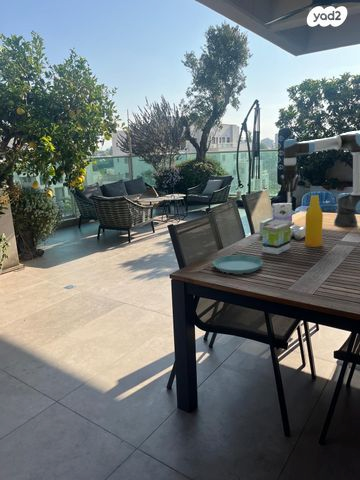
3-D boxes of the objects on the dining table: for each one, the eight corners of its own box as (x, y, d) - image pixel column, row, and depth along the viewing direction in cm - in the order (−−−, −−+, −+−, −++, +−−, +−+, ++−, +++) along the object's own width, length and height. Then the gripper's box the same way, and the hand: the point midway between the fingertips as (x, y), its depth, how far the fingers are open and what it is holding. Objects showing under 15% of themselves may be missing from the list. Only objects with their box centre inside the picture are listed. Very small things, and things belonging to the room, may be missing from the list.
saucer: (211, 262, 184) (211, 256, 183) (257, 259, 183) (257, 253, 182) (215, 277, 160) (215, 270, 160) (267, 274, 160) (267, 268, 159)
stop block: (272, 231, 244) (273, 218, 241) (264, 236, 231) (264, 222, 229) (268, 231, 245) (268, 218, 243) (259, 236, 233) (259, 222, 231)
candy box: (290, 223, 267) (290, 202, 263) (292, 225, 261) (292, 203, 257) (272, 224, 268) (272, 203, 264) (273, 225, 263) (273, 204, 259)
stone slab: (291, 224, 234) (291, 220, 233) (284, 228, 223) (284, 224, 222) (274, 223, 241) (274, 219, 240) (266, 227, 230) (266, 223, 229)
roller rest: (294, 229, 247) (294, 222, 246) (291, 231, 242) (291, 224, 241) (287, 228, 250) (287, 222, 249) (284, 230, 245) (284, 223, 244)
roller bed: (310, 234, 229) (310, 225, 228) (302, 240, 216) (303, 230, 215) (290, 233, 236) (290, 224, 235) (282, 238, 224) (282, 229, 223)
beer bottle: (324, 244, 204) (326, 195, 197) (317, 247, 197) (319, 197, 190) (308, 242, 210) (310, 194, 203) (302, 245, 203) (303, 196, 197)
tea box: (278, 254, 189) (278, 228, 185) (262, 252, 195) (262, 226, 192) (290, 248, 199) (291, 223, 196) (274, 246, 206) (275, 221, 202)
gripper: (302, 164, 218) (301, 201, 223) (281, 164, 225) (281, 201, 231) (298, 164, 212) (297, 203, 217) (277, 165, 219) (277, 202, 225)
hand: (289, 202), depth 224 cm, fingers closed
